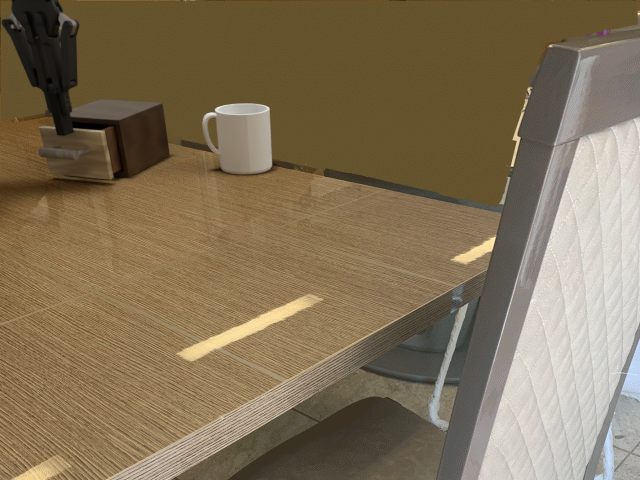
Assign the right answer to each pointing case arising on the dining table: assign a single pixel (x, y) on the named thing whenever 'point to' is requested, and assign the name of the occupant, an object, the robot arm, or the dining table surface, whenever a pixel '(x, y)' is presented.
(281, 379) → the dining table surface
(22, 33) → the robot arm
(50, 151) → the drawer
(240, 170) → the mug
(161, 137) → the cabinet
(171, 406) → the dining table surface
